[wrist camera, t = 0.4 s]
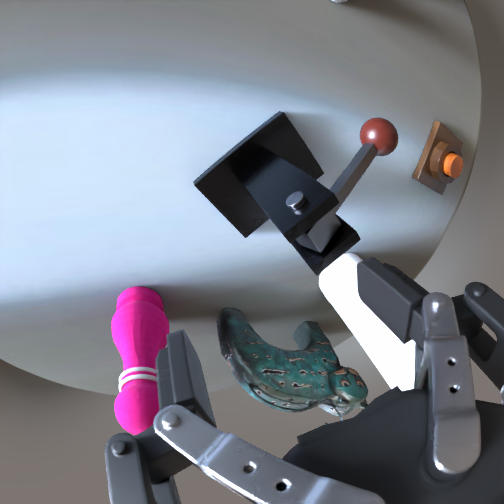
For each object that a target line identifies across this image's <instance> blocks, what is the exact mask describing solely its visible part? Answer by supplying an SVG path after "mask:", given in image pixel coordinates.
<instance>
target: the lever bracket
mask: <svg viewBox="0 0 504 504" xmlns="http://www.w3.org/2000/svg"><path fill="white" fill-rule="evenodd" d="M323 174H324V172H323V171H322V169H321V167H320V166H319V164H318V163H317V161H316V159H315V158H314V156H313V155H312V153H311V152H310V150H309V149H308V147H307V146H306V144H305V143H304V141H303V140H302V138H301V137H300V135H299V134H298V132H297V131H296V129H295V128H294V126H293V125H292V123H291V122H290V121H289V119H288V118H287V116H286V115H285V113H284V112H280V111H279V112H278V113H276V114H275V115H274V116H273V117H271V118H270V119H269V120H267V121H266V122H265V123H263V124H262V125H261V126H260V127H258V128H257V129H256V130H254V131H253V132H252V133H251V134H249V135H248V136H247V137H246V138H244V139H243V140H242V141H241V142H239V143H238V144H237V145H236V146H235V147H233V148H232V149H231V150H230V151H228V152H227V153H226V154H225V155H224V156H222V157H221V158H220V159H219V160H218V161H217V162H215V163H214V164H213V165H212V166H211V167H210V168H208V169H207V170H206V171H205V172H204V173H203V174H201V175H200V176H199V177H198V178H197V179H196V180H195V181H194V182H193V183H194V185H195V187H196V188H197V189H198V190H199V191H200V192H201V193H202V194H203V195H204V196H205V197H206V198H207V199H208V200H209V201H210V202H211V203H212V204H213V205H214V206H215V207H216V208H217V209H218V210H219V211H220V212H221V213H222V214H223V215H224V216H225V217H226V218H227V219H228V221H229V222H230V223H231V224H232V225H233V226H234V227H235V228H236V229H237V230H238V231H239V232H240V233H241V234H242V235H243V236H244V237H245V238H246V237H248V236H249V235H250V234H251V233H252V232H254V231H255V230H256V229H257V228H258V227H260V226H261V225H262V224H263V223H264V222H266V221H267V220H268V219H269V218H270V219H271V220H272V222H273V223H274V224H275V225H276V227H277V228H278V229H279V230H280V232H281V233H282V234H283V235H284V237H285V238H286V239H287V240H288V241H289V243H291V244H292V245H293V246H294V248H295V249H296V250H297V251H298V253H299V254H300V255H301V257H302V258H303V259H304V260H305V262H306V263H307V264H308V266H309V267H310V268H311V269H312V271H313V272H314V273H315V274H316V275H319V274H320V273H321V272H322V271H323V270H325V269H326V268H327V267H328V266H330V265H331V264H332V263H333V262H334V261H336V260H337V259H338V258H339V257H340V256H342V255H343V254H344V253H345V252H346V251H348V250H349V249H350V248H351V247H352V246H353V245H355V244H356V243H357V242H358V241H359V240H360V237H359V235H358V233H357V232H356V231H355V230H354V229H353V228H352V227H351V226H350V225H348V224H347V223H346V222H345V221H344V220H342V219H341V218H340V217H339V216H338V215H336V214H335V215H336V217H337V219H338V220H339V222H340V223H341V226H340V227H339V229H338V230H337V231H336V233H335V234H334V236H333V237H332V238H331V240H330V241H329V242H328V244H327V245H326V247H325V248H324V249H323V251H322V252H321V253H320V252H318V251H315V250H313V249H310V248H307V247H305V246H302V245H300V244H299V243H298V241H297V240H296V239H297V238H298V237H299V236H301V235H302V234H303V233H304V232H305V231H307V230H308V229H309V228H310V227H312V226H313V225H314V224H315V223H316V222H318V221H319V220H320V219H321V218H322V217H324V216H325V215H326V214H327V213H328V212H330V211H331V210H332V209H333V208H334V207H336V206H337V205H338V204H339V200H338V199H337V197H336V195H335V194H334V193H333V192H332V191H330V190H329V189H328V188H326V187H325V186H323V185H322V184H320V183H319V182H317V181H316V180H317V179H318V178H319V177H320V176H322V175H323Z"/></svg>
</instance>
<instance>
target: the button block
mask: <svg viewBox="0 0 504 504" xmlns="http://www.w3.org/2000/svg"><path fill="white" fill-rule="evenodd" d="M462 145H463V143H462V142H461V141H460V140H459V139H458V138H457V137H456V136H455V135H454V134H453V133H452V132H451V131H449V130H448V129H447V128H446V127H445V126H444V125H443V124H442V123H441V122H438V121H434V124H433V127H432V129H431V132H430V135H429V137H428V140H427V143H426V145H425V148H424V150H423V153H422V155H421V158H420V160H419V163H418V165H417V167H416V170H415V172H414V174H413V177H412V178H414V179H416V180H417V181H419V182H421V183H422V184H424V185H426V186H427V187H429V188H431V189H432V190H434V191H436V192H437V193H439V194H441V195H442V194H443V192H444V190H445V188H446V185H447V184H448V183H451V182H452V181H453V180H454V179H455V178H452V177H450V176H448V175H446V174H445V173H444V172H443V169H442V168H443V161H444V159H445V156H446V155H447V154H448V153H453V154H456V155H458V156H460V157H461V158H462V155H461V148H462Z"/></svg>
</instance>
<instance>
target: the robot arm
mask: <svg viewBox="0 0 504 504" xmlns="http://www.w3.org/2000/svg"><path fill="white" fill-rule="evenodd" d="M357 291H358V295H359V297H360V299H361V301H362V302H363V303H364V304H365V305H366V306H367V307H368V308H369V309H370V310H371V311H372V312H373V313H374V314H375V315H376V316H377V317H378V318H379V319H380V320H381V321H382V322H383V323H384V324H385V325H386V326H387V327H388V328H389V329H390V330H391V331H392V333H393V334H394V335H395V336H396V337H397V338H398V339H399V340H400V341H401V342H402V343H403V344H406V343H407V342H409V341H411V340H413V341H414V342H415V345H414V386H413V389H408V390H404V391H401V389H400V388H399V387H398V386H396V387H394V388H392V389H391V390H389V391H387V392H386V393H384V394H382V395H380V396H379V397H377V398H375V399H374V400H373V401H372V402H371V403H370V404H369V405H368V406H367V407H365V408H364V409H363V410H362V411H361V412H360V413H359V414H358V415H356V416H355V417H353V418H351V419H347V420H343V421H339V422H335V423H331V424H326V425H323V426H320V427H318V428H316V429H314V430H312V431H309V432H307V433H304V434H302V435H300V436H298V437H297V439H298V442H299V443H298V444H297V445H296V446H294V447H293V448H292V449H291V450H290V451H289V452H288V453H287V454H286V455H285V456H284V457H283V459H280V458H278V457H276V456H274V455H271V454H270V453H267V452H266V451H264V450H261V449H260V448H258V447H256V446H254V445H252V444H250V443H248V442H247V441H245V440H243V439H241V438H239V437H238V436H236V435H234V434H231V433H227V434H226V433H223V432H222V431H220V430H218V429H217V428H216V427H217V426H216V423H215V419H214V415H213V412H212V408H211V404H210V400H209V396H208V392H207V388H206V384H205V379H204V375H203V371H202V367H201V363H200V360H199V358H198V355H197V353H196V351H195V349H194V348H193V346H192V344H191V342H190V340H189V338H188V336H187V334H186V332H185V331H184V329H182V330H179V331H176V332H173V333H170V334H167V348H164V349H160V350H159V352H158V355H157V357H156V360H155V361H156V371H157V372H156V376H157V388H158V399H159V412H158V413H157V415H156V416H155V418H154V422H153V425H152V426H151V427H149V428H148V429H146V430H144V431H143V432H141V433H139V434H137V435H135V436H134V437H133V436H132V435H131V434H128V433H118V434H116V435H114V436H112V437H111V438H110V439H109V441H108V442H107V444H106V447H105V459H106V470H107V480H108V489H109V496H110V503H111V504H181V502H180V498H179V494H178V491H177V487H176V483H175V480H174V476H173V475H175V474H176V473H178V472H180V471H181V470H183V469H185V468H187V467H188V466H190V465H192V464H193V465H195V466H196V467H197V468H198V469H200V470H201V471H203V472H204V473H206V474H207V475H208V476H210V477H211V478H213V479H214V480H216V481H217V482H219V483H220V484H222V485H223V486H225V487H226V488H228V489H230V490H231V491H233V492H234V493H236V494H237V495H239V496H240V497H242V498H244V499H246V500H247V501H249V502H251V503H253V504H504V299H503V298H502V297H501V296H499V295H498V294H497V293H496V292H494V291H493V290H492V289H491V288H489V287H488V286H487V285H485V284H483V283H479V282H472V283H469V284H468V285H467V286H466V288H465V292H464V294H463V295H459V296H455V297H452V298H450V297H449V296H448V295H446V294H443V293H439V292H434V293H429V292H428V291H426V290H425V289H424V288H423V287H421V286H420V285H418V284H417V283H416V282H415V281H413V280H412V279H411V278H409V277H408V276H407V275H406V274H404V273H403V272H402V271H400V270H399V269H398V268H396V267H395V266H392V265H389V264H386V263H384V264H382V263H380V262H379V261H378V260H376V259H375V258H374V257H370V258H368V259H366V260H363V261H361V262H359V263H358V264H357ZM483 322H484V323H485V324H486V325H487V326H488V327H489V328H490V329H491V330H492V331H493V332H494V333H495V334H496V337H497V342H496V341H495V340H494V339H493V338H492V337H491V336H490V335H489V334H488V333H487V332H486V331H485V330H484V329H483V328H482V324H483ZM470 358H471V359H472V360H473V361H474V362H475V363H476V364H477V365H478V366H479V368H480V369H481V370H482V371H483V372H484V373H485V374H486V375H487V376H488V378H489V379H490V380H491V381H492V382H493V383H494V384H495V386H496V387H497V388H498V389H499V390H500V391H501V398H502V402H501V404H496V403H490V402H484V401H480V400H475V395H474V385H473V377H472V369H471V363H470Z"/></svg>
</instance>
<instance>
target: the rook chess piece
mask: <svg viewBox="0 0 504 504" xmlns="http://www.w3.org/2000/svg"><path fill="white" fill-rule="evenodd" d="M331 1H333V2H338V3H342V2H346V1H347V0H331Z"/></svg>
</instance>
